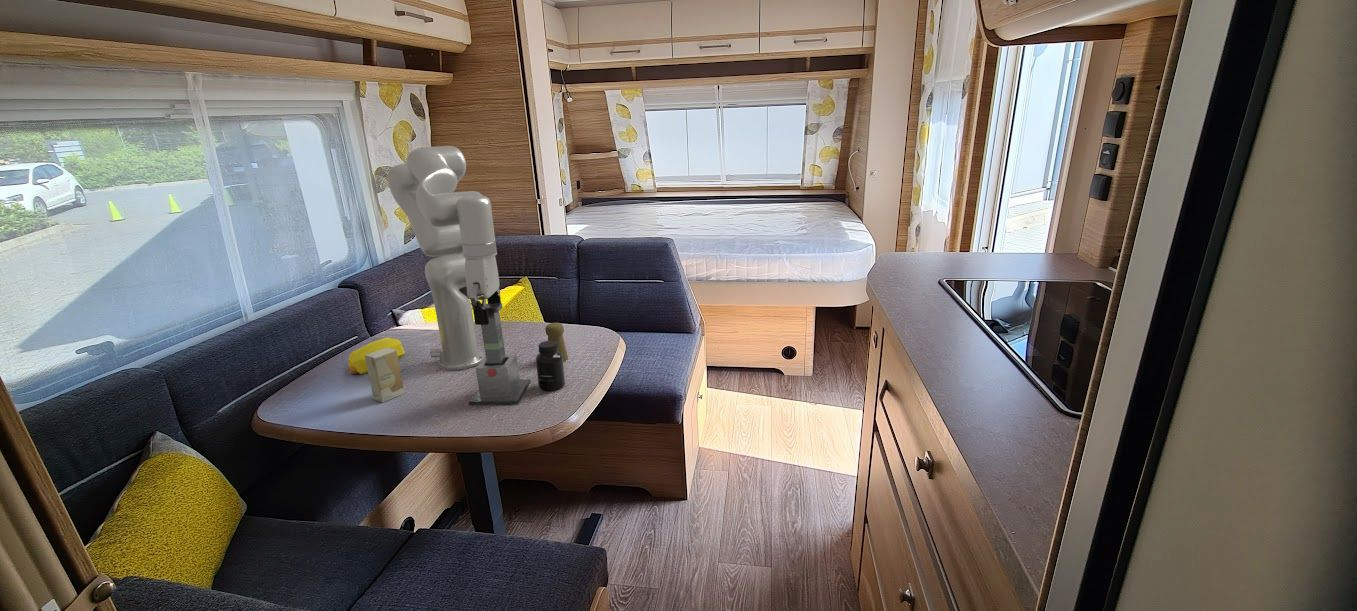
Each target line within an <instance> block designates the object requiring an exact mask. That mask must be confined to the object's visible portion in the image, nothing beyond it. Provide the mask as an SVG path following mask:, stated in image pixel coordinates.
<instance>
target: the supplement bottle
mask: <svg viewBox="0 0 1357 611" xmlns="http://www.w3.org/2000/svg"><path fill="white" fill-rule="evenodd" d="M538 352H539V353H538V354H537V355H536V356H535V364H536V372H537V381H538V387H539V389H540V391H542V392H549V393H550V392H556V391H560V390H561V389H563V388H564V386H565V385H566V379H565V366H564V362H563V356H562V354H561V352H559V351H558V343H557V342H555V341H548V340H545V341H542V342H540V343H538Z"/></svg>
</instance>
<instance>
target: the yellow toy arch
mask: <svg viewBox="0 0 1357 611" xmlns="http://www.w3.org/2000/svg"><path fill="white" fill-rule="evenodd" d="M385 348H391V349H394V350H396V351H397V356H398V360H399V359H401V358H403V357H404V356H405V354H406V352H405V350H404V347H403V345H402V342H401V340H399V339H397V338H391V337H387V336H386V337H384V338H380V339H377V340H375V341H372V342H369V343H367V344H366V345H363V346H362V347H359V348H358V349H355V350H353V351H351V353H350V354H349V356H348V372H349V373H350V374H351V375H356V374H360V375H367V374H368V369H367V364H366V359H365V355H367V354H370V353H373V352H375V351H378V350H382V349H385Z"/></svg>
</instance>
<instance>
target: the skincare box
mask: <svg viewBox="0 0 1357 611" xmlns="http://www.w3.org/2000/svg"><path fill="white" fill-rule="evenodd" d="M365 359H366V364H367V369H368V373H367V374H368V379H369V384H370V388H371V395H372V398H373V400H375V401H377V402H380V403H386V402H388V401H390V400H392V399H395V398H397V397H399V396H402V395H404V394H405V389H404V384H403V378H402V373H401V369H400V363H399V359H398V356H397V351H396V350H394V349H391V348H385V349H382V350H378V351H375V352H373V353H370V354H367V355H365Z"/></svg>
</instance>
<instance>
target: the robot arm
mask: <svg viewBox="0 0 1357 611" xmlns="http://www.w3.org/2000/svg"><path fill="white" fill-rule="evenodd" d="M466 161H467V160H466V157H465V156H464V154H463V153H462V151H461V150H460V149H459V148H458V147H455V146H452V145H446V146H445V145H442V146H425V147H418V148H415V149H413V150H411V152H409V153H408V155H407V157H406V163H405V162H404V163H401V164H396V165H394V166H392V167H391V168H390V169H389V170H388V172H387V176H386V177H387V184H388V187H389V190H390V193H391V195H392V197H393V199H394V200H395V202H396V203H397V205H398V206H399V207H400V209H401V210H402V212H403V213H404V214H405V216H406V217H407V219H408V221H409V223H410V225H411V228H412V230H413V233H414V235H415V238H416V240H417V242H418V246H419V247H420V250H421V251H422V253H423V254H424V255H425V256H426V257H432V259H430V260H428V262H426V264H425V267H424V275H425V279H426V281H427V284H428V286H429V289H430V293H431V296H432V300H433V304H434V310H435V315H436V322H437V326H438V327H437V328H438V331H439V336H440V337H439V338H440V342H441V347H440V348H430V350H429V353H430V357H431V358H439V361H438V366H439V367H440V368H441V369H443V370H446V371H460V370H461V371H462V370H466V369H469V368H473V367H477V366H478V365H479V364H480V362H481V361H482V360H483V359H484V358H485V357H486V355H485V352H484V351H481V350H479V348H478V347H479V346H478V338H477V333H476V326H475V325H477V326H481V325H488V324H489V318H488V311H487V308H485V307H486V304H496V303H502V300H501V298H502V297H501V290H500V277H499V270H498V265H497V258H496V256H497V255H498V252H497V250H498V248H497V244H496V243H497V242H496V235H495V229H494V228H495V226H494V219H493V210H492V203H491V200H490V198H489V197H488V196H485V195H482V193H480V192H478V191H476V190H469V191H468V190H467V191H457V192H455V190H456V189H457V186H458V183H459V182H460V181H461V180H462V178H463V177H464V176H465V175H466V172H467V162H466ZM462 288H466V295H467V296H466V295H465V294H463V292H461V291H460V289H462Z"/></svg>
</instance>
